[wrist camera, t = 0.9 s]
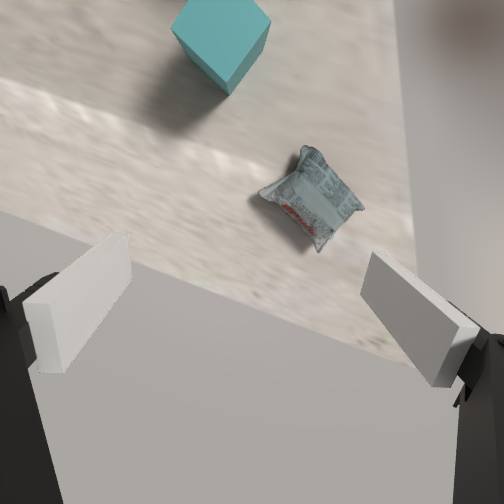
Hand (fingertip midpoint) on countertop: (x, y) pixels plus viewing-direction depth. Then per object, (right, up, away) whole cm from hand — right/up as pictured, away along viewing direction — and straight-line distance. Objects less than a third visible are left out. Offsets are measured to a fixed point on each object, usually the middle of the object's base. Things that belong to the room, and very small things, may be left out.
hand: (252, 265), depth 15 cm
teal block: (-3, +23, +17) cm, 29 cm away
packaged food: (+8, +8, +24) cm, 26 cm away
